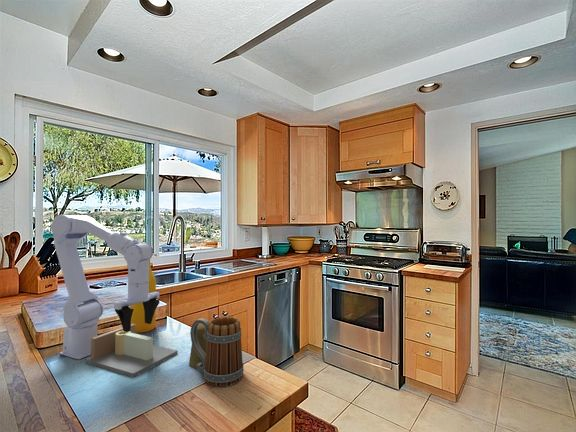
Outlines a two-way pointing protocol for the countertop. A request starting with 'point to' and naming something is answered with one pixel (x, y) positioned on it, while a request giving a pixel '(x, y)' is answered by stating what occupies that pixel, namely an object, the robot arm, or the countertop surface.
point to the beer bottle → (138, 311)
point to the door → (134, 345)
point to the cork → (202, 342)
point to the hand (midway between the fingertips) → (137, 327)
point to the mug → (220, 351)
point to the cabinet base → (123, 364)
